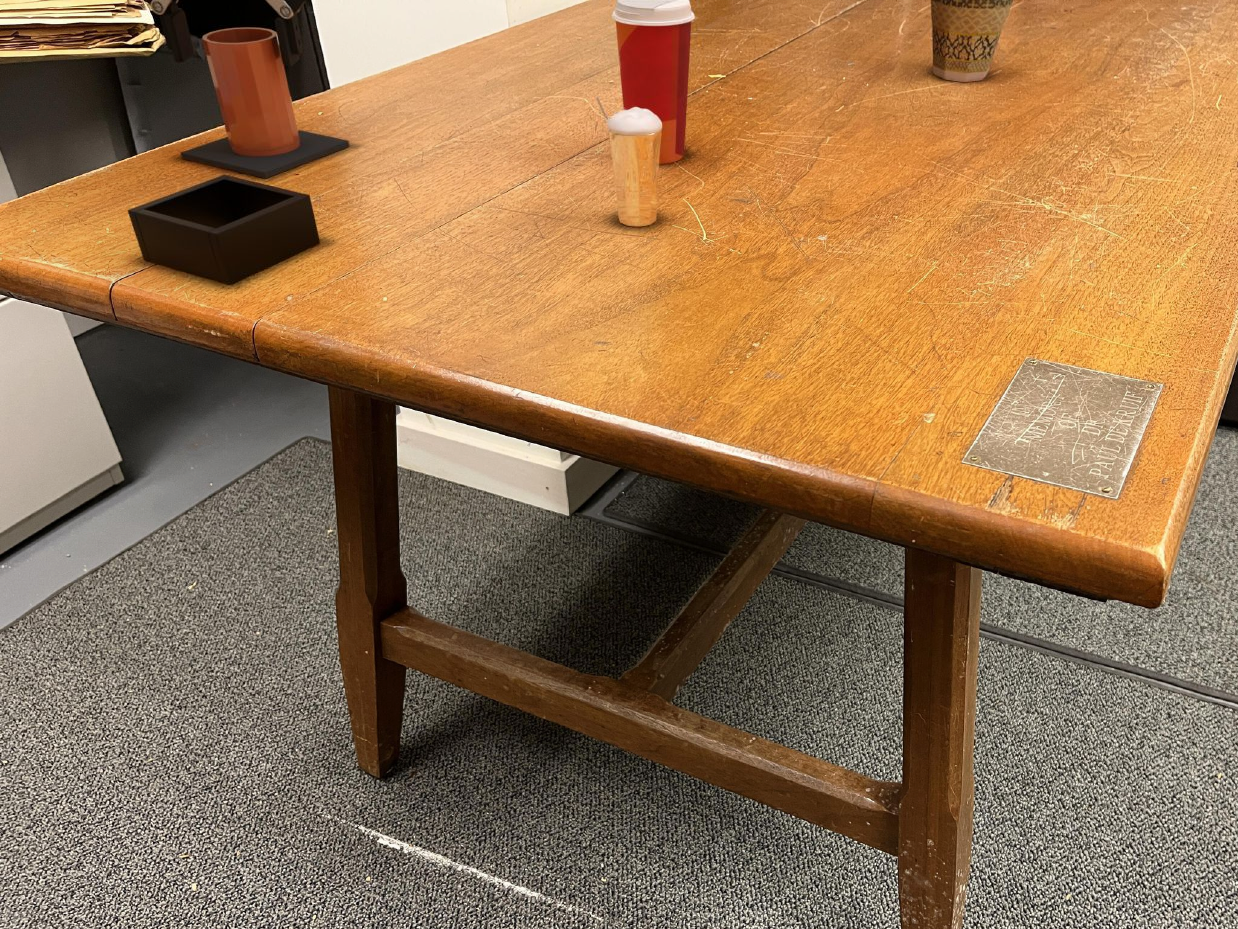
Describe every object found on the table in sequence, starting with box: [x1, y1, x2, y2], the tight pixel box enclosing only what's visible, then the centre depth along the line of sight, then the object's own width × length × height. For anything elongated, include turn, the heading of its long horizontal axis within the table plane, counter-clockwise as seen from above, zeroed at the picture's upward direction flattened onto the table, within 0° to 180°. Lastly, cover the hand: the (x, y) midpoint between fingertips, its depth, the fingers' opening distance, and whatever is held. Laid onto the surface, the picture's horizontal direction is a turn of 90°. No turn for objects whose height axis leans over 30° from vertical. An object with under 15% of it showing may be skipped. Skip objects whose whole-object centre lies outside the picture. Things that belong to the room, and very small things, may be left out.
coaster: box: [180, 129, 350, 179], centre depth 104 cm, size 11×11×1 cm
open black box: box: [127, 174, 321, 286], centre depth 84 cm, size 9×9×4 cm
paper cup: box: [611, 0, 696, 165], centre depth 101 cm, size 8×8×14 cm
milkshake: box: [595, 96, 662, 228], centre depth 89 cm, size 5×5×10 cm
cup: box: [201, 27, 301, 157], centre depth 100 cm, size 6×6×10 cm
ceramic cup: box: [930, 0, 1014, 83], centre depth 131 cm, size 13×10×10 cm
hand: (238, 60), depth 98 cm, fingers open, 9 cm apart
